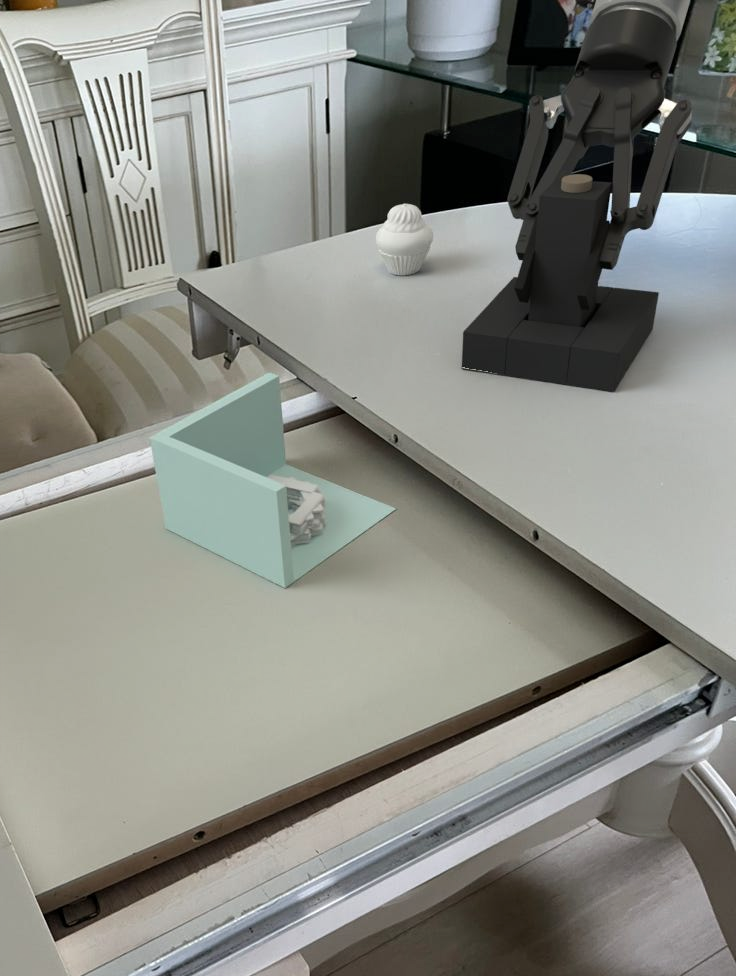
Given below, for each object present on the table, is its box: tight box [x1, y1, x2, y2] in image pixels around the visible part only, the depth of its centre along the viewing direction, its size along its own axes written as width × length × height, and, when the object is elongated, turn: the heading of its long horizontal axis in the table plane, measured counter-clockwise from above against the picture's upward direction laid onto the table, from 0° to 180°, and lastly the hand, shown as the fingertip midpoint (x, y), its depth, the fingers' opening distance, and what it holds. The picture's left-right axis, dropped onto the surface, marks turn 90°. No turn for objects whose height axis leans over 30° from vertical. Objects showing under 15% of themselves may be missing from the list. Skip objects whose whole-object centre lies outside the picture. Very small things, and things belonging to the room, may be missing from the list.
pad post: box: [528, 173, 613, 327], centre depth 85 cm, size 5×5×12 cm
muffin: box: [375, 202, 434, 276], centre depth 106 cm, size 6×6×7 cm
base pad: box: [461, 276, 660, 393], centre depth 89 cm, size 13×13×4 cm
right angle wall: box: [149, 372, 397, 589], centre depth 71 cm, size 12×12×8 cm
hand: (552, 298), depth 84 cm, fingers closed on pad post, 5 cm apart
